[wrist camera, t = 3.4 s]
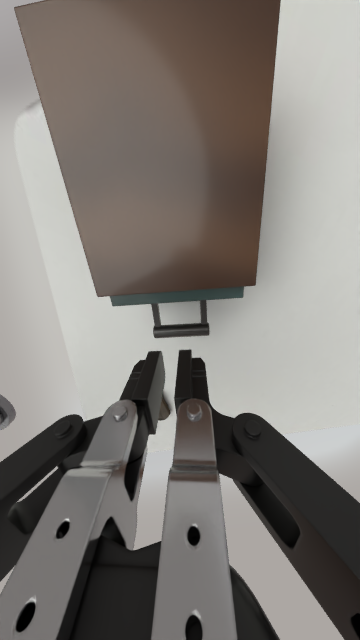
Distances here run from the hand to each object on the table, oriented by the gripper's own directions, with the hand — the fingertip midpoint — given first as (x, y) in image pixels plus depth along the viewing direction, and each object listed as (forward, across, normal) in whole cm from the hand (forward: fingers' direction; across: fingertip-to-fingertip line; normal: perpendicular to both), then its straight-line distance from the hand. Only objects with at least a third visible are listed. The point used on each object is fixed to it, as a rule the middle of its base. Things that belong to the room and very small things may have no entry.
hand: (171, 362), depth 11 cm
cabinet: (+14, 0, -10) cm, 17 cm away
